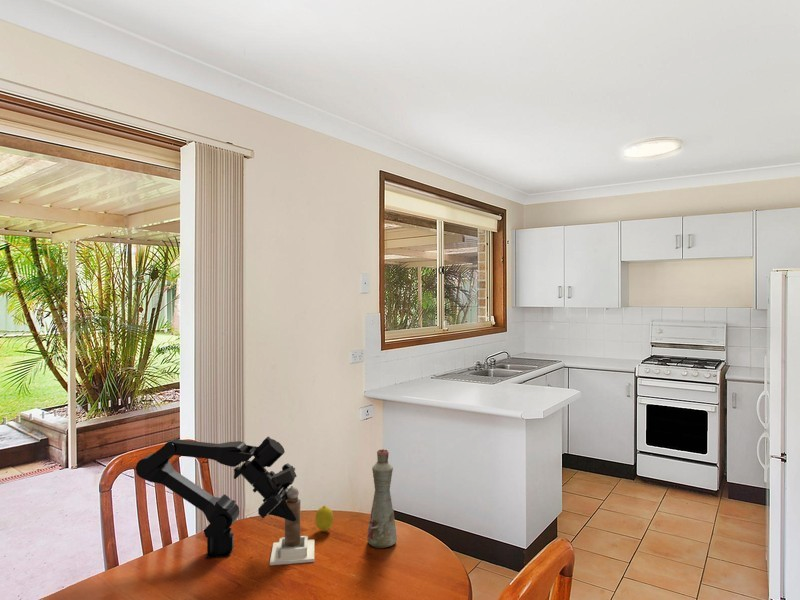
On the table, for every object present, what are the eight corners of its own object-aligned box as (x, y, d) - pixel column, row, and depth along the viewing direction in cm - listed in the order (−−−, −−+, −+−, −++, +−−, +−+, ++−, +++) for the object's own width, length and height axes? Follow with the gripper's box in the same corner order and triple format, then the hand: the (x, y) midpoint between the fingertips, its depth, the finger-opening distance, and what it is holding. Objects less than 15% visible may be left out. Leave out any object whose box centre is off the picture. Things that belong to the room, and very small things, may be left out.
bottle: (387, 552, 149) (386, 455, 149) (361, 545, 154) (360, 450, 154) (402, 540, 157) (402, 447, 157) (377, 534, 161) (377, 443, 162)
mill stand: (269, 565, 142) (269, 554, 142) (273, 545, 154) (273, 535, 154) (314, 561, 144) (314, 550, 144) (314, 542, 156) (314, 532, 156)
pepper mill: (285, 547, 146) (286, 490, 147) (283, 541, 151) (283, 485, 151) (301, 545, 148) (301, 488, 148) (298, 538, 152) (299, 483, 152)
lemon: (331, 535, 161) (331, 509, 161) (313, 535, 161) (313, 509, 161) (334, 527, 166) (334, 502, 166) (317, 527, 166) (317, 502, 166)
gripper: (270, 468, 140) (310, 510, 140) (287, 449, 159) (323, 485, 159) (241, 497, 141) (281, 539, 140) (261, 474, 159) (297, 511, 159)
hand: (297, 516), depth 149 cm, fingers closed on pepper mill, 4 cm apart
